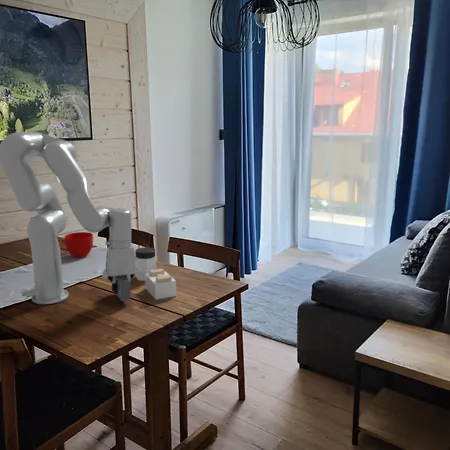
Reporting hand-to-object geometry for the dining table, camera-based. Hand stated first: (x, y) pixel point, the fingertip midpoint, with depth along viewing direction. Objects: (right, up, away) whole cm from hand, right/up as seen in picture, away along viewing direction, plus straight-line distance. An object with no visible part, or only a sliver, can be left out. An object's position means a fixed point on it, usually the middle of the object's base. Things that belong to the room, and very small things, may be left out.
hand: (120, 291), depth 163 cm
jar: (+5, +2, +23) cm, 23 cm away
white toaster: (+14, -1, +7) cm, 15 cm away
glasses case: (0, -1, 0) cm, 1 cm away
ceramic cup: (-33, +9, +51) cm, 62 cm away
